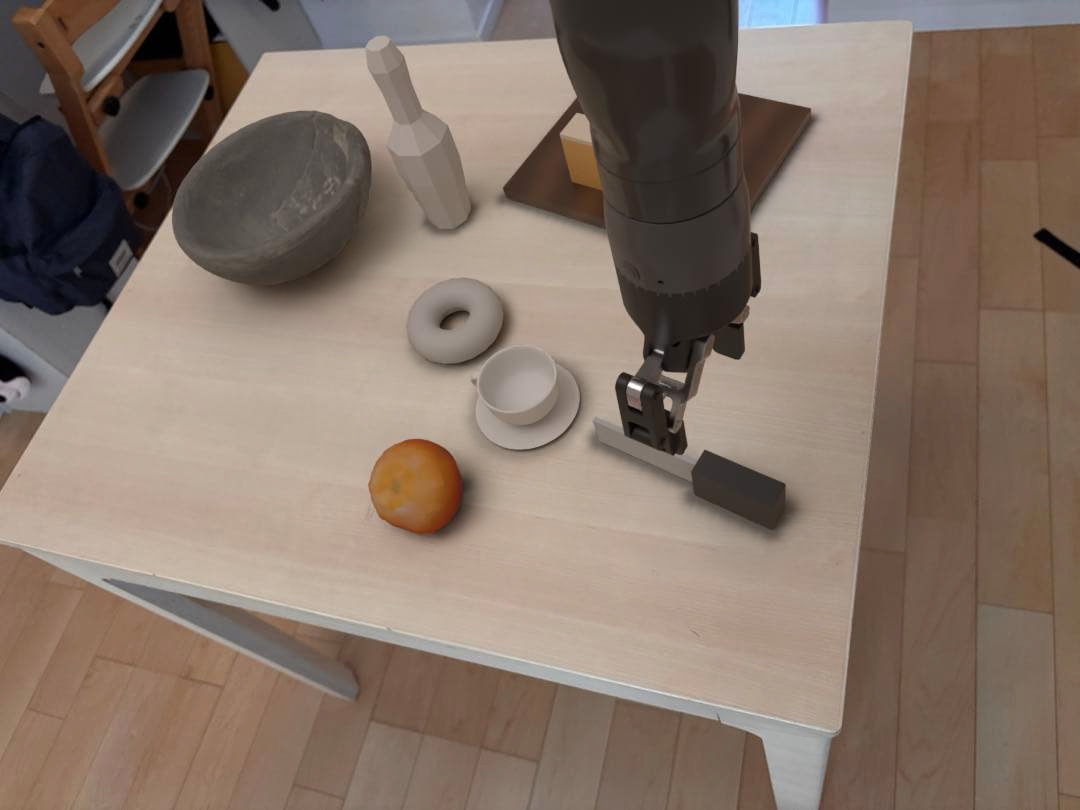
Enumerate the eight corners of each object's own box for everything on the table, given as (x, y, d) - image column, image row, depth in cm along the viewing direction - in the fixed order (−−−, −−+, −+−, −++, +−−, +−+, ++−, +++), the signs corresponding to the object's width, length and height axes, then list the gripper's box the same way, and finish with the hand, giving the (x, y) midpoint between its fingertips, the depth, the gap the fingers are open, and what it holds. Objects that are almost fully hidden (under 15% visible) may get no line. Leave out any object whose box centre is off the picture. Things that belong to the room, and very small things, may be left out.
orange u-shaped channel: (710, 152, 92) (706, 100, 86) (669, 210, 88) (662, 160, 83) (613, 128, 97) (604, 78, 92) (571, 181, 94) (559, 133, 88)
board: (810, 119, 93) (811, 108, 92) (716, 263, 85) (715, 253, 84) (605, 74, 105) (603, 64, 104) (505, 197, 97) (502, 187, 96)
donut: (525, 309, 88) (448, 280, 92) (518, 287, 85) (438, 259, 89) (472, 384, 84) (393, 351, 88) (462, 364, 81) (381, 331, 85)
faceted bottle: (413, 226, 98) (332, 58, 80) (445, 188, 100) (373, 17, 82) (456, 241, 95) (382, 71, 77) (488, 202, 97) (423, 27, 79)
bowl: (263, 167, 110) (222, 103, 102) (421, 172, 103) (391, 103, 94) (178, 309, 99) (124, 249, 91) (348, 326, 92) (306, 263, 84)
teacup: (595, 372, 81) (586, 342, 78) (558, 462, 77) (547, 435, 73) (500, 354, 85) (487, 325, 81) (460, 439, 81) (444, 412, 77)
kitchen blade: (785, 506, 70) (786, 483, 67) (772, 530, 69) (772, 508, 66) (607, 428, 78) (599, 404, 74) (593, 449, 77) (585, 425, 74)
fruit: (495, 457, 77) (446, 457, 70) (468, 540, 78) (417, 548, 71) (424, 427, 80) (371, 424, 73) (399, 506, 81) (344, 511, 74)
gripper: (678, 357, 43) (702, 503, 56) (801, 163, 48) (796, 339, 61) (552, 310, 46) (603, 458, 59) (680, 135, 51) (700, 307, 64)
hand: (701, 398), depth 60 cm, fingers open, 8 cm apart
